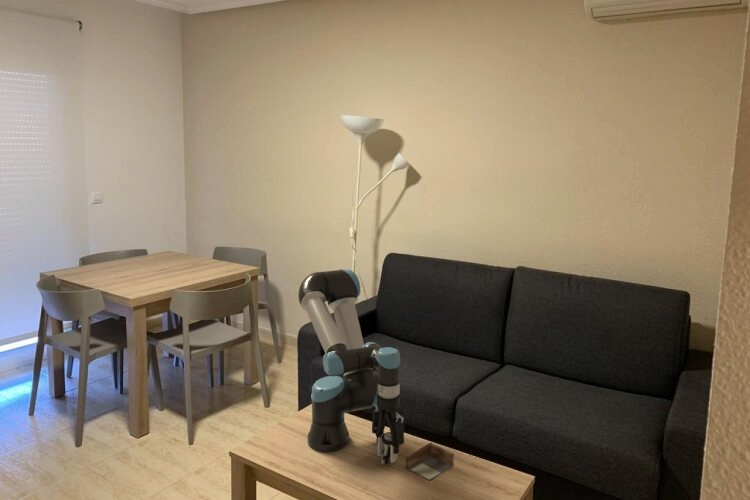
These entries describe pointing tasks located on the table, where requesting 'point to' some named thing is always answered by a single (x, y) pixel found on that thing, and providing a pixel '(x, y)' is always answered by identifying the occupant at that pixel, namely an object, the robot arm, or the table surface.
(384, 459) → the push button
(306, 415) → the table surface
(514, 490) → the table surface
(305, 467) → the table surface
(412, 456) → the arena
